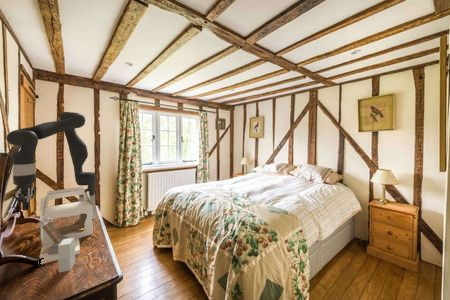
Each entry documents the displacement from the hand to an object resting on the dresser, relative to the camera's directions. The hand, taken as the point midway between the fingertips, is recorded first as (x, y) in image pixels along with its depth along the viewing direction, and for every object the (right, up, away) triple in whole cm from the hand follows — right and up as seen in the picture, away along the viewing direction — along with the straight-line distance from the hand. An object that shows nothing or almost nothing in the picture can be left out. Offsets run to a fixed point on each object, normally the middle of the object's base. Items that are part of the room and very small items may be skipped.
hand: (26, 209), depth 93 cm
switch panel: (+12, -23, +5) cm, 26 cm away
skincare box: (+24, -24, -6) cm, 34 cm away
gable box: (+3, -22, +21) cm, 30 cm away
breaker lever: (+12, -17, +5) cm, 22 cm away
